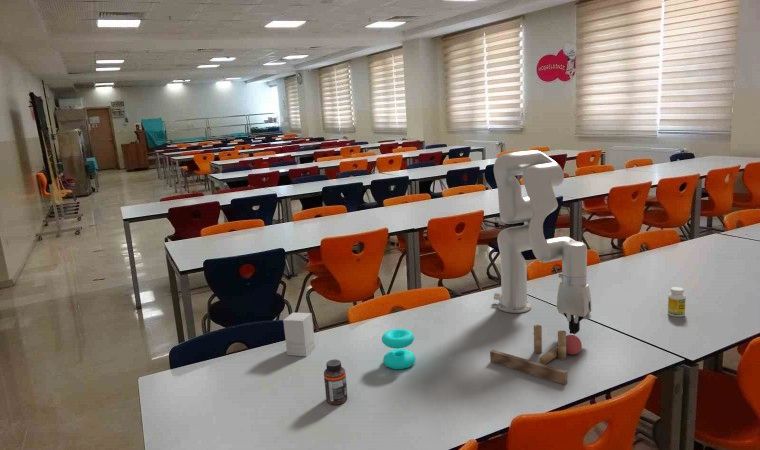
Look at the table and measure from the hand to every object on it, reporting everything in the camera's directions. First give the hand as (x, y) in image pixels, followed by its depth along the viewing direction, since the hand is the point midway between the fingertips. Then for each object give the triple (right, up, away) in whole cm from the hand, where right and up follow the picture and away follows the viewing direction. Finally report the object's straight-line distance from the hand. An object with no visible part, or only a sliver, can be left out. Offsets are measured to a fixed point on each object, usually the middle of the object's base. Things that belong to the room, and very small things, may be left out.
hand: (574, 332), depth 181 cm
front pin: (-9, -3, -12) cm, 15 cm away
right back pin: (-9, -5, -14) cm, 18 cm away
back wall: (-21, -7, -21) cm, 31 cm away
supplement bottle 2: (+41, +4, +13) cm, 43 cm away
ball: (-5, -1, -12) cm, 14 cm away
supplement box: (-91, -7, +4) cm, 91 cm away
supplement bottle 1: (-76, -13, -30) cm, 83 cm away
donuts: (-58, -8, -10) cm, 60 cm away
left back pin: (-15, -4, -9) cm, 18 cm away
